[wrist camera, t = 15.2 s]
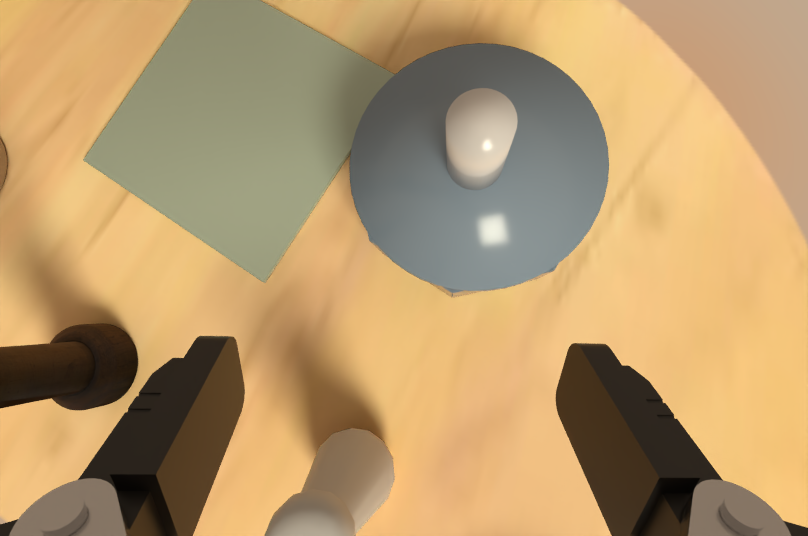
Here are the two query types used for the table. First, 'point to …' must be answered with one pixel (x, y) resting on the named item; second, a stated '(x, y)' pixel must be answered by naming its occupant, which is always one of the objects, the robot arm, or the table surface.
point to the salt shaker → (339, 488)
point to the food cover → (479, 167)
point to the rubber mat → (239, 127)
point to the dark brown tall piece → (70, 368)
